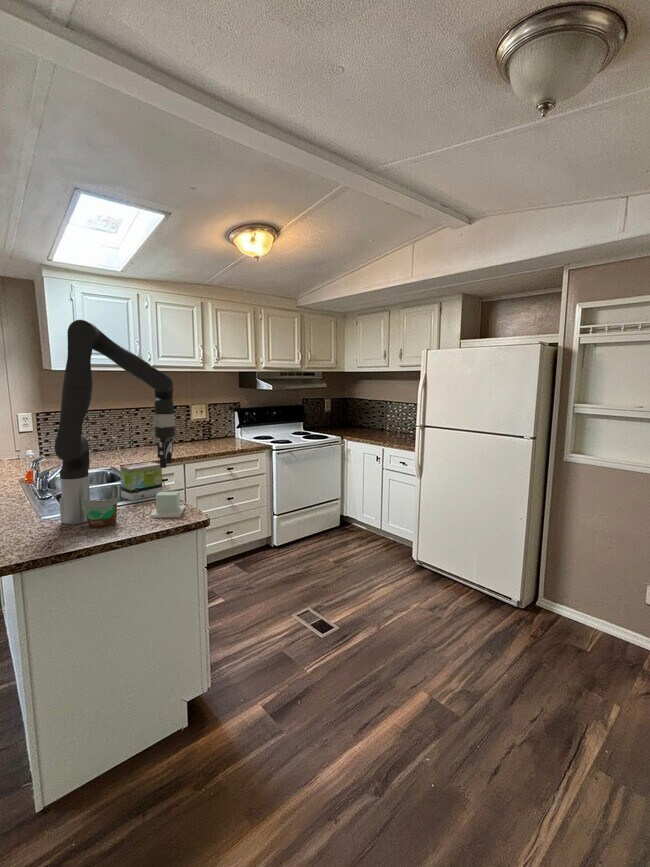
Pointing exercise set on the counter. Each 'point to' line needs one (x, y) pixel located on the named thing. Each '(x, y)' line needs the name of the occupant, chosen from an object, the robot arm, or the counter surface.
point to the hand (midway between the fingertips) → (166, 465)
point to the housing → (167, 502)
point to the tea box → (140, 480)
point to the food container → (101, 512)
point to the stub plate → (167, 513)
